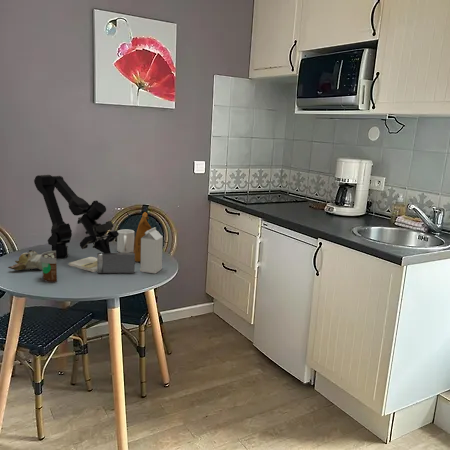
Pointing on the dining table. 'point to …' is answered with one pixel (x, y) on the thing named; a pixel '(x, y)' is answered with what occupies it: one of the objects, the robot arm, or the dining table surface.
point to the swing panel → (115, 262)
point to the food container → (49, 266)
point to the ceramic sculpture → (28, 261)
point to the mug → (125, 241)
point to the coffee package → (140, 236)
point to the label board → (85, 264)
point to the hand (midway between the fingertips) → (109, 255)
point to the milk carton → (151, 251)
